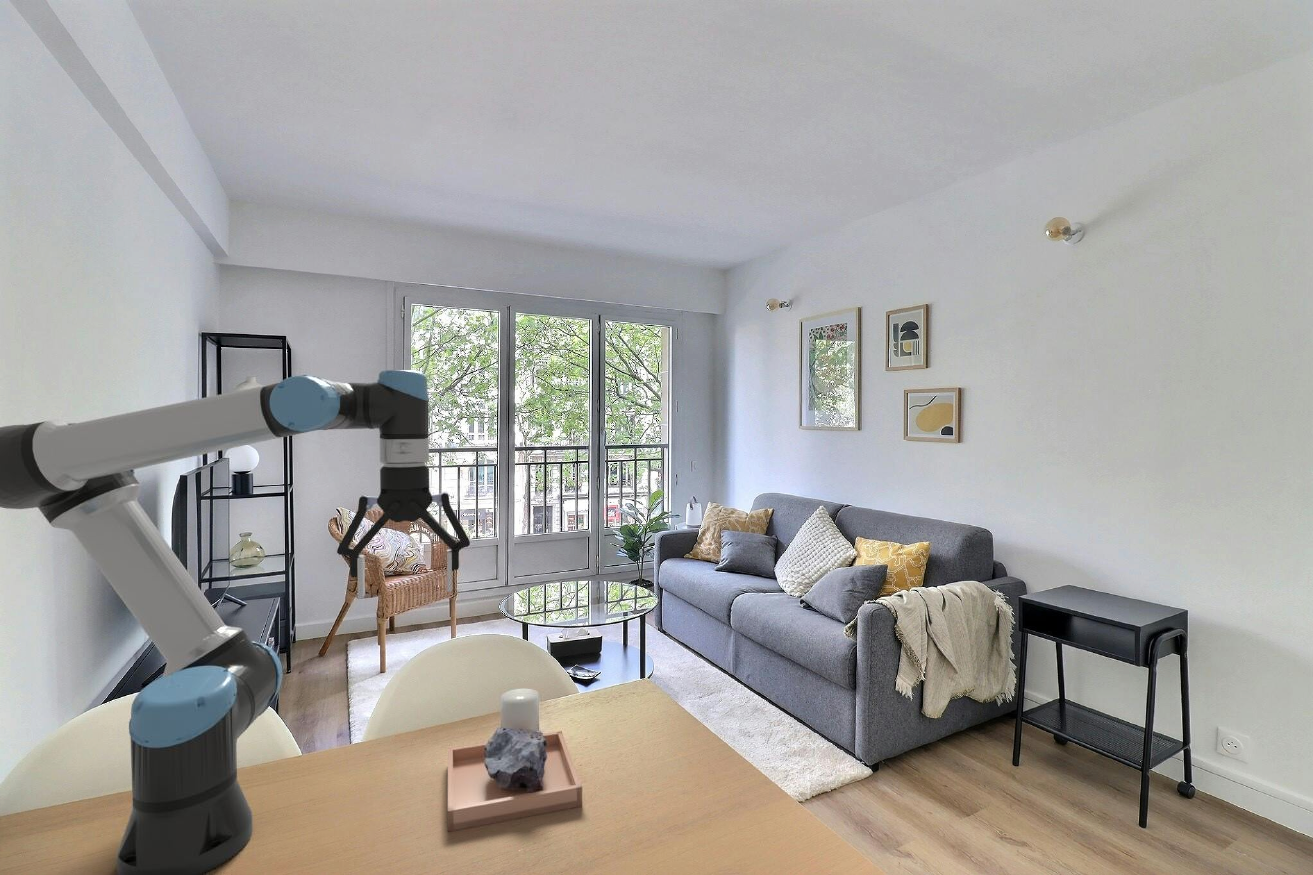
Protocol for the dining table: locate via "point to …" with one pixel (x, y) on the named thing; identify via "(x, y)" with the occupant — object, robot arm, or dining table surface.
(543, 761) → the rock
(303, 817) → the dining table surface
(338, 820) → the dining table surface
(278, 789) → the dining table surface
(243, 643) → the robot arm
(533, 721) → the white rounded cylinder
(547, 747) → the dish
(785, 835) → the dining table surface
